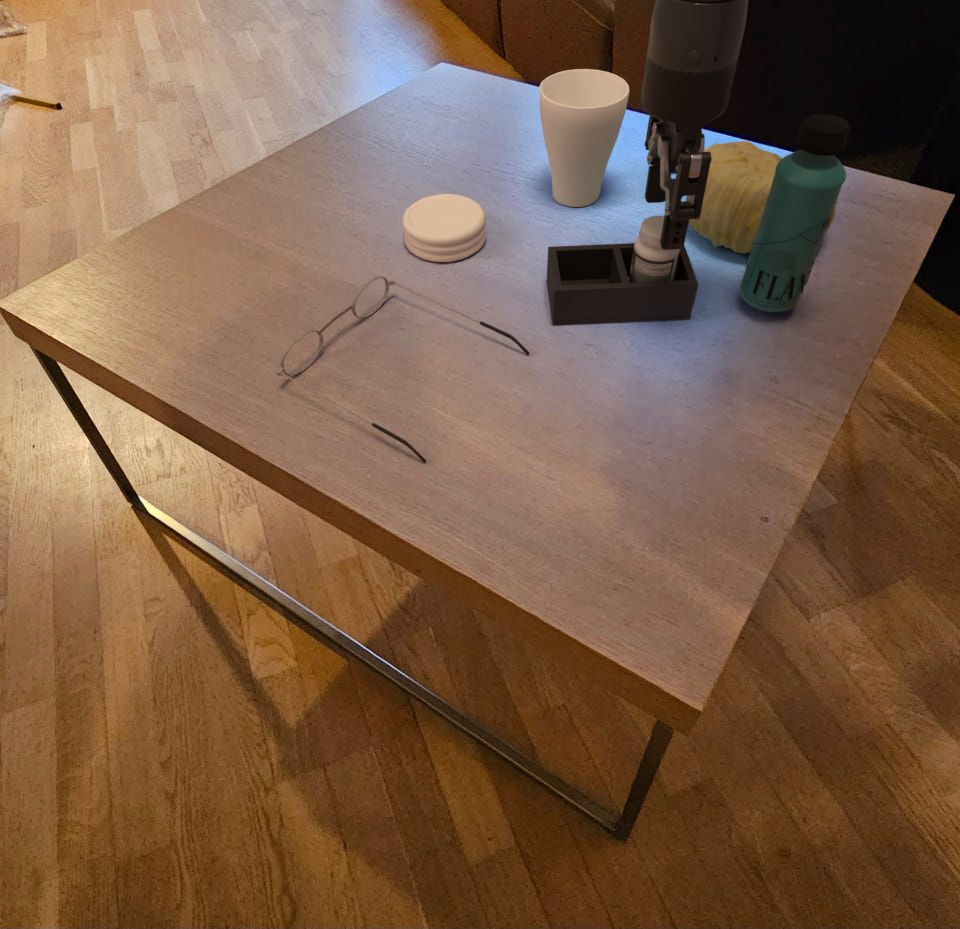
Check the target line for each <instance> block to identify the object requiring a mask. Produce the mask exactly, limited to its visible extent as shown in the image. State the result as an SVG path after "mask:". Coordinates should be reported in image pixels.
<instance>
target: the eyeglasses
mask: <svg viewBox="0 0 960 929" xmlns="http://www.w3.org/2000/svg"><path fill="white" fill-rule="evenodd" d="M378 279H383V280H384V285H385V289H384V294H383V296H382V298H381V299H380V300H379V302H378V303H377V304H376V306H375V307H373V308H372V309H371V310H370V311H369V312H368V313H367V312H366V314H363V315H357V311H356V305H357V302H358V299H359V297H360V295H361V293H362V292H363V291H364V290H365V289H366V288H367V287H368V286H369V285H371V284H372V283H374V281H377V280H378ZM394 285H396V286H398V287H400V288H402V289H403V290H406V291H409V292H411V293H413V294H415V295H417V296H419V297H421V298H424V299H426V300H427V301H431V302H432V303H435V304H437V305H439V306H441V307H444V308H446V309H448V310H450V311H452V312H455V313H457V314H459V315H461V316H463V317H466V318H467V319H470V320H472V321H474V322H476V323H479V325H480V326H482V327H485V328H487V329H489V330H490V331H493V332H495V333H497V334H499V335H502V336H504V337H506V338H508V339H510V340H511V341H512V342H514V343H515V344H516V345H517V346H518V347H519V348H520V349H521V350H522V351H523V352H524V354H525V355H526V356H530V351H529V350H528V349H527V348H526V347H525V346H524V345H523V344H522V343H521V342H520V341H519V340H518V339H517V338H516V337H515V336H514V335H512V334H510V333H509V332H507V331H504V330H501V329H500V328H497V327H495V326H493V325H491V324H488V323H487V322H484V321H483V320H482V321H479V320H478V319H475V318H472V317H471V316H468V315H466V314H464V313H461V312H460V311H458V310H456V309H453V308H451V307H448V306H447V305H444V304H442V303H440V302H437V301H436V300H433V299H431V298H428V297H426V296H424V295H422V294H420V293H418V292H415V291H413V290H412V289H410V288H407V287H405V286H403V285H401V284H398V283H396V281H395V280H394V279H393V278H391V279H390V280H388V279H387V277H385V276H384V275H377V276H374V277H371V278H370V279H369V280H368V281H367V282H365V283H364V284H363V285H362V286H360V288H359V289H358V290H357V291H356V293H355V294H354V297H353V299H352V302H351V303H349V304H348V305H346V306H345V307H342V309H339V311H338V312H335V314H333V315H332V316H331V317H329V318H328V319H327V320H326V321H325V322H324V323H323V324H322V325H321V326H319V328H317V329H316V328H315V329H314V328H313V329H308V330H305V331H304V332H302V333H300V334H298V335H297V336H296V337H295V338H293V339H292V340H291V341H290V342H289V344H288V345H287V346H286V347H285V349H284V350H283V351H282V353H281V357H280V361H279V366H280V367H279V369H277V370H276V371H275V374H276V375H277V376H279V377H280V376H281V377H285V378H287V379H289V380H291V381H293V382H294V383H297V384H298V385H300V386H301V387H303V388H305V389H307V390H309V391H311V392H313V393H314V394H316V395H318V396H319V397H322V398H323V399H325V400H327V401H328V402H331V403H332V404H334V405H335V406H337V407H339V408H341V409H342V410H345V411H347V412H348V413H350V414H352V415H353V416H355V417H357V418H359V419H361V420H363V421H364V422H366V423H368V424H370V425H371V427H373V428H375V429H377V430H378V431H380V432H382V433H383V434H386V435H387V436H389V437H390V438H392V439H394V440H396V441H398V442H399V443H401V444H403V445H404V446H406V447H407V448H408V449H409V450H410V451H411V452H412V453H414V454H415V456H417V457H418V458H419V459H420V460H421V462H423V463H424V464H426V463H427V459H425V457H423V455H422V454H421V453H419V451H417V449H416V448H415V447H413V445H412V444H410V443H409V442H408V441H407V440H405V439H403V438H402V437H400V436H399V435H397V434H396V433H393V432H391V431H389V430H388V429H386V428H384V427H383V426H380V425H379V424H377V423H375V422H371V421H369V420H367V419H366V418H364V417H362V416H360V415H358V414H357V413H355V412H354V411H352V410H350V409H348V408H345V407H344V406H343V405H340V404H338V403H336V402H335V401H334V400H331V399H330V398H327V397H326V396H324V395H322V394H320V393H319V392H317V391H315V390H313V389H311V388H310V387H308V386H307V385H304V384H302V383H301V382H300V381H298V380H295V379H294V378H292V377H293V376H297V375H298V374H300V373H302V372H304V371H305V370H306V369H308V368H309V367H310V366H311V365H312V364H313V363H314V362H315V360H316V359H317V358H318V356H319V355H320V353H321V350H322V349H323V345H324V337H323V334H322V333H323V332H324V331H325V330H326V329H328V328H329V326H331V325H332V323H334V322H335V321H337V319H339V318H341V317H342V316H344V315H345V314H347V313H348V312H349V311H351V312H352V314H353V316H354V317H355V318H357V319H365V318H368V317H371V316H372V315H373V314H374V313H376V312H377V311H378V310H379V309H380V307H382V306H383V304H384V302H385V301H386V300H387V297H388V295H389V292H390V286H394ZM315 332H316V334H317V335H318V337H319V342H318V346H317V349H316V350H315V353H314V355H312V357H311V358H310V359H309V361H308V362H306V364H304V365H303V366H301V367H300V368H298V369H297V370H295V371H292V372H289V373H288V372H286V368H285V360H286V356H287V355H288V353H289V351H290V349H291V348H292V347H293V346H294V345H295V344H296V343H297V342H298V341H299V340H301V339H303V337H305V336H307V335H308V334H310V333H315Z"/></svg>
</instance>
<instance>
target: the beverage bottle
mask: <svg viewBox="0 0 960 929" xmlns="http://www.w3.org/2000/svg"><path fill="white" fill-rule="evenodd" d="M849 132H850V123H849V122H848V121H847V120H846V119H844V118H842V117H840V116H838V115H833V114H825V113H820V114H819V113H817V114H812V115H810V116H808V117H806V118H805V119H804V121H803V123H802V125H801V128H800V131H799V133H798V135H797V137H796V140H795V144H796V146H797V147H798V150H796V151H793V152H792V153H790V154H787V155H786V156H784V157H782V158H783V159H781V160H780V161H779V162H778V164H777V166H776V169H775V175H774V178H773V182H772V185H771V188H770V192H769V195H768V199H767V202H766V205H765V209H764V212H763V215H762V219H761V222H760V225H759V229H758V232H757V236H756V238H755V241H754V243H752V244H753V246H751V247H752V250H751V249H750V250H751V251H750V252H749V256H748V258H746V259H747V260H746V262H745V263H746V265H745V267H744V271H743V273H742V276H741V277H742V278H741V280H740V285H739V290H740V296H741V299H742V300H743V301H744V302H745V303H746V304H747V305H748V306H750V307H752V308H754V309H756V310H759V311H763V312H768V313H781V312H785V311H788V310H790V309H792V308H793V307H795V305H796V304H797V303H798V302H799V301H800V299H801V298H802V295H804V289H805V287H806V286H807V284H808V282H809V281H808V280H809V279H810V276H811V272H812V270H813V267H814V265H815V262H816V260H817V257H818V256H817V255H818V253H820V250H821V248H820V247H822V244H821V243H822V241H823V240H824V238H825V234H826V232H828V230H829V228H827V226H828V225H829V224H830V223H829V221H830V220H831V219H832V217H833V216H832V215H831V214H833V211H834V210H833V209H835V208H834V206H835V204H836V203H837V204H838V203H839V201H837V200H838V198H839V195H840V192H841V189H842V187H843V185H844V183H845V181H846V179H847V171H846V169H845V166H844V165H843V164H842V162H841V161H840V159H839V158H838V157H837V155H839V154H840V153H842V152H843V151H844V150H845V148H846V145H847V139H848V136H849ZM836 201H837V202H836ZM831 216H832V217H831ZM830 217H831V219H830ZM830 222H831V221H830ZM828 223H829V224H828ZM826 228H827V229H828V230H826ZM825 230H826V232H825Z"/></svg>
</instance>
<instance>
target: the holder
mask: <svg viewBox="0 0 960 929" xmlns="http://www.w3.org/2000/svg"><path fill="white" fill-rule="evenodd" d="M634 244H635V242H632V243H631V242H629V243H605V244H583V245H580V244H579V245H559V246H558V245H557V246H556V245H555V246H548V247H547V260H546V261H547V265H546V288H547V295H548V302H549V308H550V309H549V310H550V316H551V324H552V325H553V326H566V325H567V326H568V325H569V326H570V325H590V324H591V325H592V324H593V325H594V324H615V323H616V324H617V323H635V322H636V323H640V322H663V321H666V322H667V321H686V320H688V321H689V320H691V318H692V314H693V309H694V305H695V301H696V297H697V294H698V288H699V282H698V278H697V277H696V274H695V271H694V268H693V265H692V262H691V260H690V257H689V254H688V251H687V249H686V245H684V246H683V247H682V248H680V254H679V258H678V263H677V268H676V272H675V277H674V281H661V282H637V283H629V276H630V269H631V263H632V256H633V250H634Z"/></svg>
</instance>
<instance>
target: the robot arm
mask: <svg viewBox="0 0 960 929" xmlns="http://www.w3.org/2000/svg"><path fill="white" fill-rule="evenodd" d="M748 6H749V0H655V2H654V7H653V11H652V15H651V20H650V28H649V35H648V42H647V49H646V58H645V66H644V72H643V80H642V88H641V95H640V102H641V107H642V108H643V110H644V111H645V112H646V113H647V114H648V116H649V117H648V123H647V129H646V135H645V141H644V147H645V151H648V153H647V156H646V162H647V165H648V170H647V177H646V184H645V192H644V199H645V202H646V203H648V204H659V203H664V202H665V203H664V204H665V205H664V215H663V216H664V221H663V227H662V233H661V238H660V244H661V247H662V249H664V250H669V249H680V248H682V247H683V246H685V243H686V239H687V238H686V237H687V233H688V228H689V224H688V223H689V219H699V218H700V215H701V209H702V204H703V199H704V194H705V189H706V184H707V178H708V173H709V168H710V163H711V160H712V157H711V153H710V152H703V151H704V150H705V149H706V148H705V147H706V146H705V143H706V142H705V140H706V138H705V134H704V133H703V127H705V125H706V124H707V123H709V122H710V121H712V120H715V119H717V118H719V117H721V115H723V114H724V113H725V112H726V110H727V108H728V106H729V102H730V97H731V93H732V90H733V89H732V87H733V85H734V84H733V83H734V79H735V75H736V70H737V65H738V61H739V56H740V51H741V48H742V44H743V39H744V33H745V29H746V24H747V18H748V17H747V16H748ZM672 175H675V178H672ZM686 196H687V201H686V200H683V201H682V199H683V197H686Z"/></svg>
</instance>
